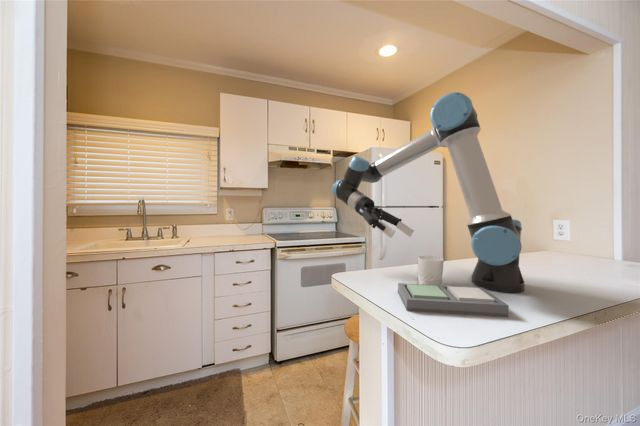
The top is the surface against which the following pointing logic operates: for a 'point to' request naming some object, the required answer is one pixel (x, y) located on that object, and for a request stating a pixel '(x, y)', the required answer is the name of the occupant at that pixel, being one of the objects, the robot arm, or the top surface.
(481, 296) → the white square tile
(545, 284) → the top surface
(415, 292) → the sage key
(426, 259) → the white cup
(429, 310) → the grey divided tray
